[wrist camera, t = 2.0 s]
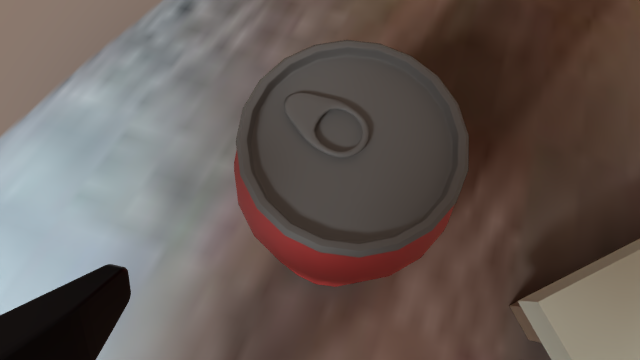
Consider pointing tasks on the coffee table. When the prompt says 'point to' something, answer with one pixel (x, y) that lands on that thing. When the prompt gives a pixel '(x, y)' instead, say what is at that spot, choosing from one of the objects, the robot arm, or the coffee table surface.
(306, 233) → the beer can
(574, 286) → the white square platform
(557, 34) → the coffee table surface
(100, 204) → the coffee table surface
